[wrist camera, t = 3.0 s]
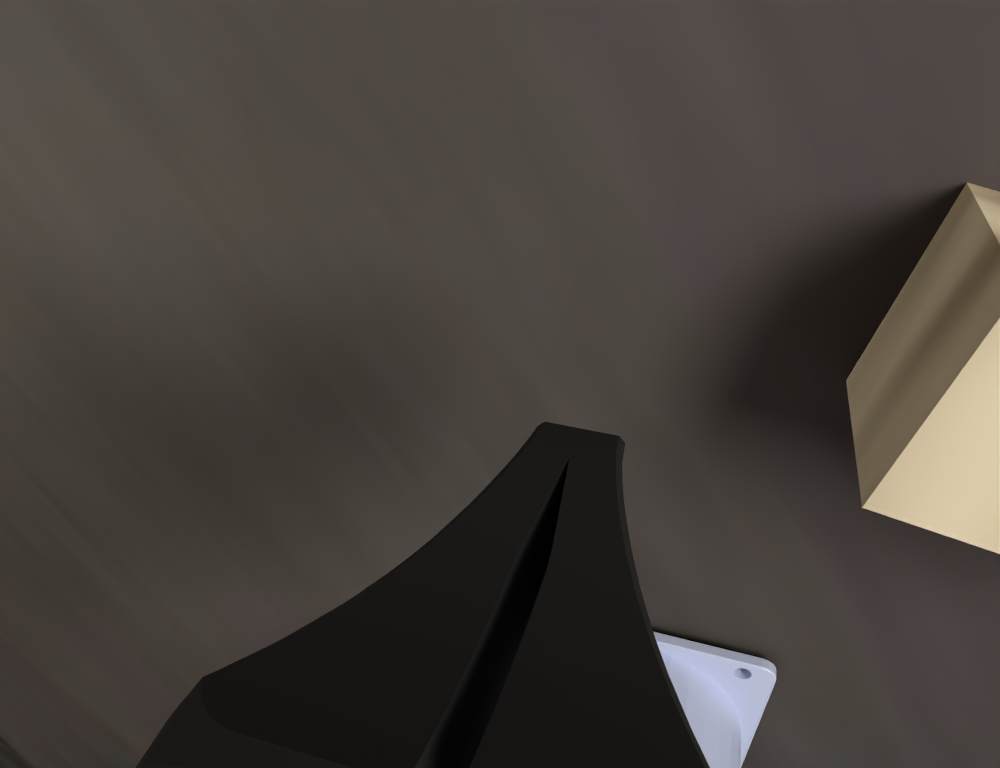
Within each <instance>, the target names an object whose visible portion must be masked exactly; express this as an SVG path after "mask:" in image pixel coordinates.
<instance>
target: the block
mask: <svg viewBox="0 0 1000 768" xmlns="http://www.w3.org/2000/svg"><path fill="white" fill-rule="evenodd" d="M846 385H847V392H848V400H849V408H850V416H851V424H852V432H853V440H854V448H855V456H856V463H857V471H858V479H859V487H860V495H861V503H862V508H865V509H868V510H871V511H874V512H877V513H880V514H882V515H885V516H888V517H891V518H894V519H897V520H900V521H903V522H906V523H909V524H912V525H915V526H918V527H921V528H924V529H927V530H930V531H933V532H936V533H939V534H942V535H945V536H948V537H951V538H954V539H957V540H960V541H963V542H966V543H969V544H972V545H975V546H978V547H980V548H983V549H986V550H989V551H992V552H995V553H998V554H1000V192H998V191H995V190H991V189H988V188H984V187H981V186H977V185H974V184H970V183H966V185H965V186H964V188H963V190H962V191H961V193H960V195H959V196H958V198H957V199H956V201H955V203H954V204H953V206H952V208H951V209H950V211H949V213H948V214H947V216H946V217H945V219H944V221H943V222H942V224H941V226H940V227H939V229H938V231H937V232H936V234H935V236H934V237H933V239H932V240H931V242H930V244H929V245H928V247H927V249H926V250H925V252H924V254H923V255H922V257H921V258H920V260H919V262H918V263H917V265H916V267H915V268H914V270H913V272H912V273H911V275H910V277H909V278H908V280H907V281H906V283H905V285H904V286H903V288H902V290H901V291H900V293H899V295H898V296H897V298H896V299H895V301H894V303H893V304H892V306H891V308H890V309H889V311H888V313H887V314H886V316H885V318H884V319H883V321H882V322H881V324H880V326H879V327H878V329H877V331H876V332H875V334H874V336H873V337H872V339H871V341H870V342H869V344H868V345H867V347H866V349H865V350H864V352H863V354H862V355H861V357H860V359H859V360H858V362H857V363H856V365H855V367H854V368H853V370H852V372H851V373H850V375H849V377H848V378H847V380H846Z"/></svg>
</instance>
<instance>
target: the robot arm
mask: <svg viewBox="0 0 1000 768" xmlns="http://www.w3.org/2000/svg"><path fill="white" fill-rule="evenodd" d="M624 447H625V443H624V441H623V440H622V439H621V438H620V436H616V435H611V434H606V433H601V432H595V431H590V430H585V429H580V428H575V427H569V426H564V425H559V424H554V423H549V422H544V423H542V424H540V425H539V426H537V428H536V429H535V431H534V432H533V433H532V435H531V436H530V437H529V439H528V440H527V441H526V443H525V444H524V445H523V446H522V448H521V449H520V450H519V451H518V452H517V454H516V455H515V456H514V457H513V458H512V459H511V461H510V462H509V463H508V464H507V465H506V466H505V467H504V469H503V470H502V471H501V472H500V473H499V474H498V475H497V476H496V477H495V478H494V479H493V480H492V481H491V483H490V484H489V485H488V486H487V487H486V488H485V489H484V490H483V491H482V492H481V493H480V494H479V495H478V496H477V497H476V498H475V499H474V500H473V501H472V502H471V503H470V504H469V505H468V506H467V507H466V508H465V509H464V510H463V511H462V512H461V513H459V514H458V515H457V516H456V517H455V518H454V519H453V520H452V521H451V522H450V523H449V524H448V525H446V526H445V527H444V528H443V529H442V530H441V531H440V532H439V533H438V534H437V535H435V536H434V537H433V538H432V539H431V540H430V541H428V542H427V543H426V544H425V545H424V546H422V547H421V548H420V549H419V550H418V551H416V552H415V553H414V554H413V555H411V556H410V557H409V558H407V559H406V560H405V561H403V562H402V563H401V564H400V565H398V566H397V567H396V568H394V569H393V570H392V571H390V572H389V573H388V574H386V575H385V576H383V577H382V578H380V579H379V580H377V581H376V582H375V583H373V584H372V585H370V586H369V587H367V588H366V589H365V590H363V591H362V592H360V593H359V594H357V595H356V596H354V597H353V598H351V599H350V600H348V601H346V602H345V603H343V604H342V605H340V606H339V607H337V608H335V609H334V610H332V611H330V612H328V613H327V614H325V615H323V616H322V617H320V618H318V619H316V620H315V621H313V622H311V623H309V624H308V625H306V626H304V627H302V628H301V629H299V630H297V631H295V632H294V633H292V634H290V635H289V636H287V637H285V638H283V639H281V640H279V641H277V642H275V643H274V644H272V645H270V646H268V647H266V648H263V649H261V650H259V651H257V652H255V653H253V654H251V655H249V656H247V657H245V658H243V659H241V660H238V661H236V662H234V663H232V664H230V665H228V666H226V667H224V668H222V669H220V670H218V671H215V672H213V673H211V674H209V675H206V676H204V677H202V678H201V680H200V681H199V682H198V683H197V685H196V686H195V687H194V688H193V690H192V691H191V692H190V693H189V695H188V696H187V697H186V698H185V699H184V700H183V701H182V702H181V704H180V705H179V706H178V707H177V709H176V710H175V711H174V713H173V714H172V715H171V716H170V718H169V719H168V720H167V722H166V723H165V725H164V726H163V728H162V729H161V731H160V732H159V734H158V735H157V737H156V738H155V740H154V741H153V743H152V744H151V746H150V747H149V749H148V750H147V752H146V753H145V755H144V756H143V758H142V759H141V761H140V762H139V764H138V765H137V767H136V768H741V766H742V764H743V761H744V759H745V756H746V754H747V751H748V749H749V746H750V744H751V741H752V739H753V736H754V734H755V732H756V729H757V727H758V724H759V722H760V719H761V717H762V714H763V712H764V709H765V707H766V704H767V702H768V699H769V697H770V694H771V692H772V689H773V687H774V684H775V682H776V667H775V666H774V664H773V663H771V662H770V661H768V660H766V659H763V658H759V657H755V656H751V655H747V654H743V653H739V652H735V651H731V650H727V649H723V648H719V647H715V646H710V645H706V644H702V643H698V642H694V641H690V640H686V639H682V638H678V637H674V636H670V635H666V634H662V633H657V632H653V629H652V626H651V623H650V620H649V617H648V614H647V610H646V607H645V603H644V600H643V596H642V592H641V589H640V585H639V581H638V576H637V572H636V568H635V564H634V560H633V555H632V550H631V545H630V539H629V533H628V527H627V521H626V515H625V507H624V498H623V484H622V460H623V454H624Z"/></svg>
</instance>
